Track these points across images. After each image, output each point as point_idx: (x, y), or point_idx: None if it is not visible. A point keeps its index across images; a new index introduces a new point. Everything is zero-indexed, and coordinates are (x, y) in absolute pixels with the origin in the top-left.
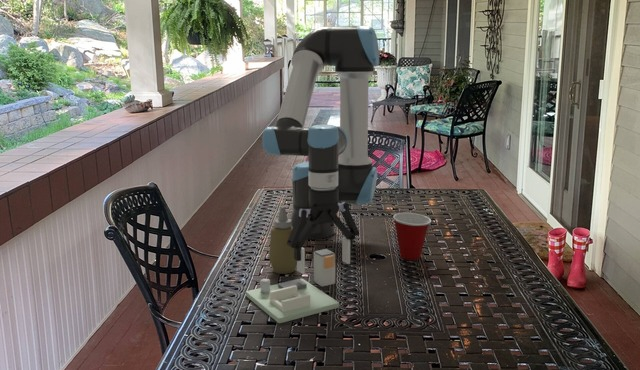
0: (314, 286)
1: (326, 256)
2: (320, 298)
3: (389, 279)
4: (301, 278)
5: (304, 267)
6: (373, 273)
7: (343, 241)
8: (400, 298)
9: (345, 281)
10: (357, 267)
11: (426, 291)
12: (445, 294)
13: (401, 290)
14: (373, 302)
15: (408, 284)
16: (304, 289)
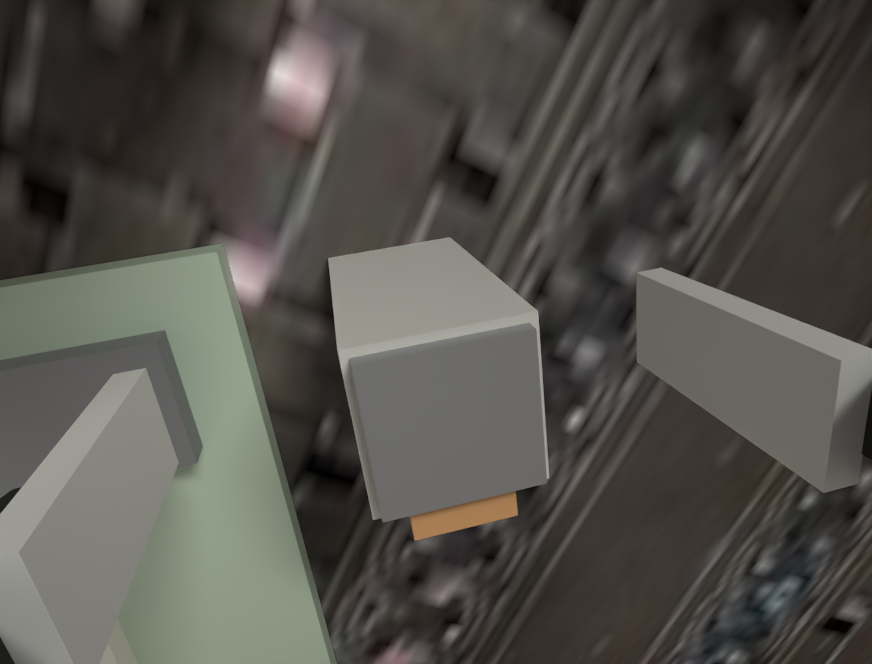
0: (269, 444)
1: (435, 512)
2: (247, 623)
3: None
4: (209, 257)
5: (159, 498)
6: (776, 276)
7: (796, 374)
8: (672, 626)
9: (544, 340)
10: (761, 114)
11: (820, 585)
12: (857, 628)
13: (737, 549)
14: (533, 641)
15: (817, 492)
16: (174, 474)
